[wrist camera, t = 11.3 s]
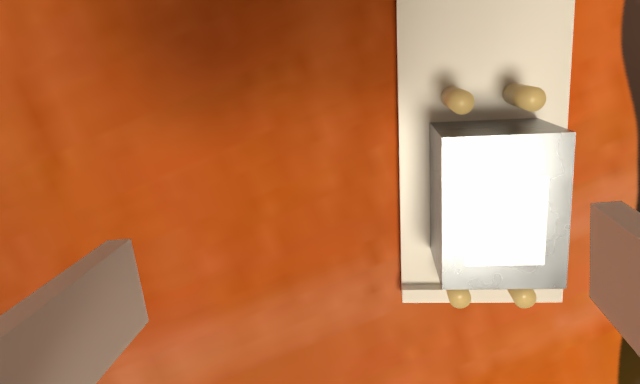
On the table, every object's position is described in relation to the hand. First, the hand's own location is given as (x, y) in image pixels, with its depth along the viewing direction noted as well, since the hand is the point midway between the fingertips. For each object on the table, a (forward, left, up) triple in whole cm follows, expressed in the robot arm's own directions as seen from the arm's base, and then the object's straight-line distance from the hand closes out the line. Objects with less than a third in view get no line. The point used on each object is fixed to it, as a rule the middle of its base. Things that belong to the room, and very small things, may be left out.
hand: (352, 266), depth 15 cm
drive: (-2, +8, -22) cm, 24 cm away
